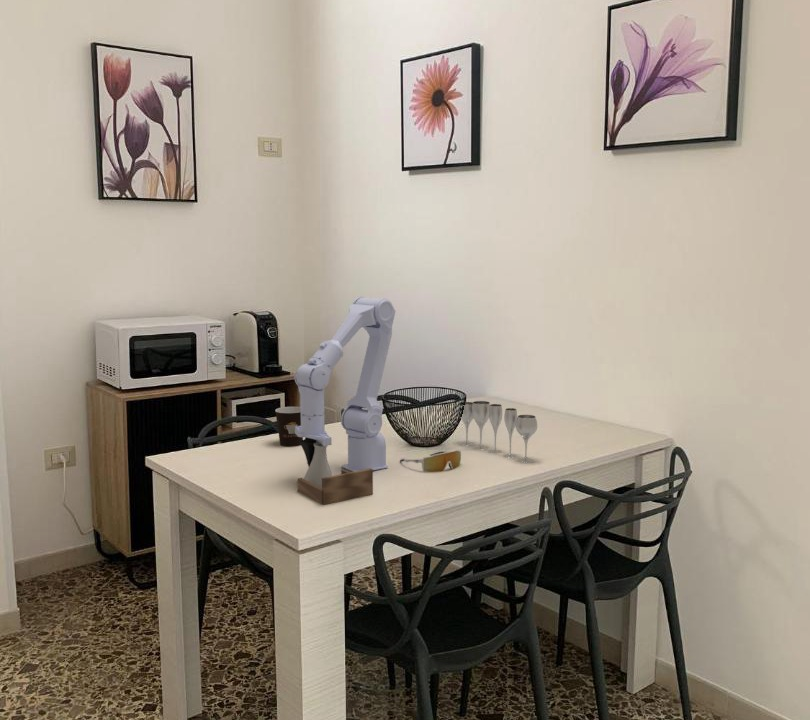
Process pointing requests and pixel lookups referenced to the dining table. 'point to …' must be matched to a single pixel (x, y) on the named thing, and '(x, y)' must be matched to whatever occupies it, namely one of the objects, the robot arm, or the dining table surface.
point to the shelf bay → (339, 486)
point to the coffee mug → (288, 425)
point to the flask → (318, 466)
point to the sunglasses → (438, 461)
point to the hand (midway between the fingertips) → (313, 468)
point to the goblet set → (485, 411)
